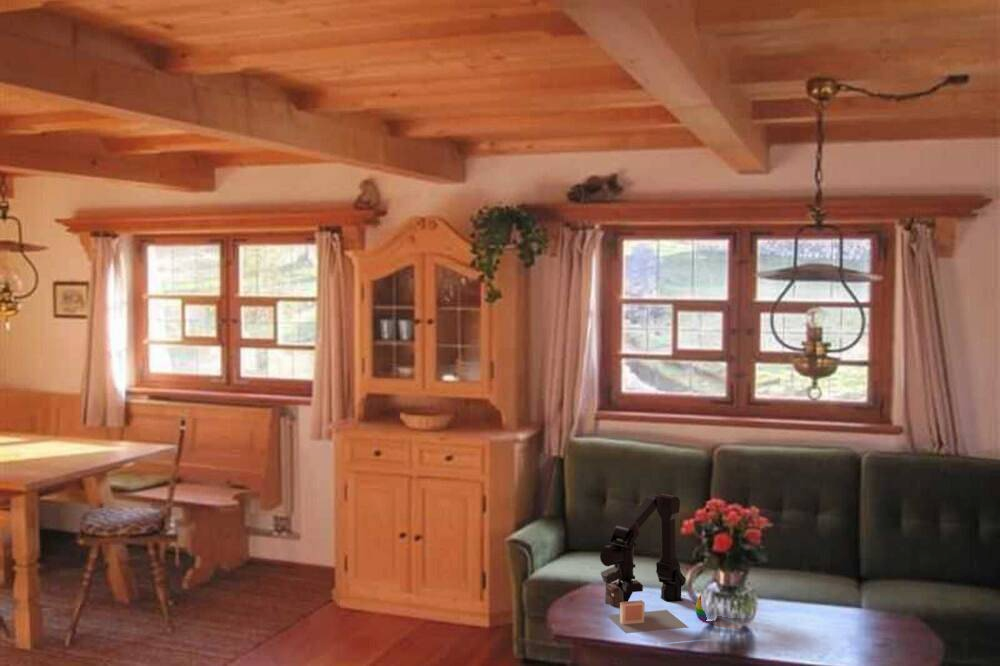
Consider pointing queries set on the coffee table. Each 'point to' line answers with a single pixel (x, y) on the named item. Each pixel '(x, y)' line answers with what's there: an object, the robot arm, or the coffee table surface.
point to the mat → (650, 622)
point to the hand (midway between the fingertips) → (624, 604)
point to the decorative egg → (700, 610)
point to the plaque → (632, 612)
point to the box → (612, 595)
